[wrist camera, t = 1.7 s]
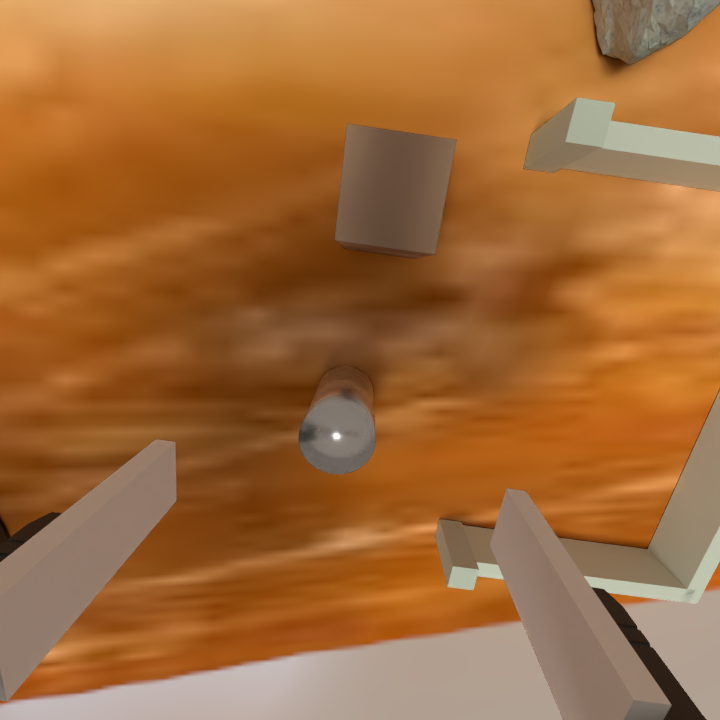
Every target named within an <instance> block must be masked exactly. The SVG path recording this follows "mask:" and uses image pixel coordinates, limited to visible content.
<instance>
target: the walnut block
mask: <svg viewBox="0 0 720 720" xmlns="http://www.w3.org/2000/svg"><path fill="white" fill-rule="evenodd" d="M455 146H456V140H455V139H448V138H441V137H435V136H428V135H421V134H414V133H407V132H401V131H394V130H387V129H380V128H373V127H367V126H360V125H353V124H347V130H346V139H345V148H344V157H343V167H342V176H341V185H340V194H339V204H338V213H337V222H336V231H335V241H336V242H337V243H339V244H340V245H341V246H342V247H343V248H345V249H350V250H357V251H364V252H371V253H378V254H386V255H393V256H400V257H407V258H419V257H424V256H430V255H435V253H436V247H437V242H438V236H439V231H440V226H441V220H442V215H443V210H444V204H445V199H446V194H447V188H448V183H449V178H450V172H451V167H452V162H453V156H454V151H455Z"/></svg>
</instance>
